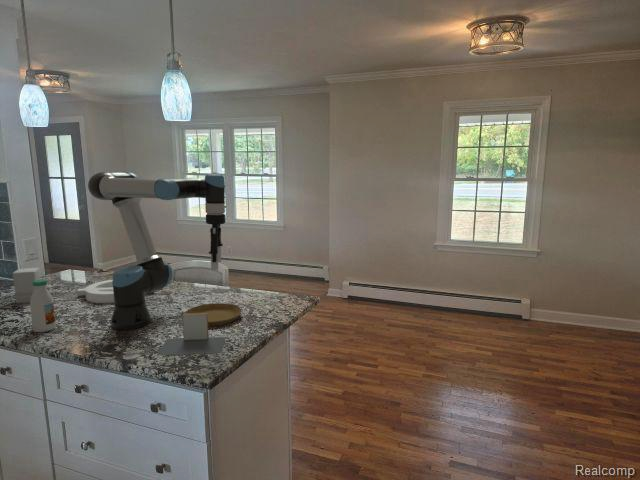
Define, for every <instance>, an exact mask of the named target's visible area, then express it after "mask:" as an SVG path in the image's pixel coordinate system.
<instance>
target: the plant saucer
mask: <svg viewBox="0 0 640 480" xmlns="http://www.w3.org/2000/svg"><path fill="white" fill-rule="evenodd" d="M242 311H243V310H242V308H241V307H240V306H238V305H235V304H231V303H222V302H221V303H219V302H218V303H217V302H216V303H207V304H200V305H196V306H193V307H191V308H188V309H187V310H186V311H185V312H184V314H199V313H208V327H217V326H222V325H226V324H227V325H228V324H229V323H232V322H234V321H236V320H237V319H238V318H239V317H240V316H241V314H242Z"/></svg>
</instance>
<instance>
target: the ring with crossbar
mask: <svg viewBox="0 0 640 480" xmlns="http://www.w3.org/2000/svg"><path fill="white" fill-rule="evenodd" d="M112 281H113V279H108V280H102V281H99V282H94V283H91V284H89V285H88V286H87V287H85V288H78V289H77V291H76V295H77V296H85V299H86V301H87V302H91V303H94V304H95V303H97V304H112V303H114V293H113V284H112Z"/></svg>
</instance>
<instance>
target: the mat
mask: <svg viewBox="0 0 640 480" xmlns="http://www.w3.org/2000/svg"><path fill="white" fill-rule="evenodd" d="M226 339H227V336H218V337H217V336H216V337H213V336H212V337H209V339H207V340H184V337H183V338H182V337H180V338H177V337H176V338H166V340H165V341H164V342H163V344H162V346H161V347H160V349H159V350H158V352H157V354H156V356H174V355H175V356H177V355H178V356H179V355H207V354H209V355H211V354H222V352H223V349H224V347H225V344H226Z"/></svg>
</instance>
